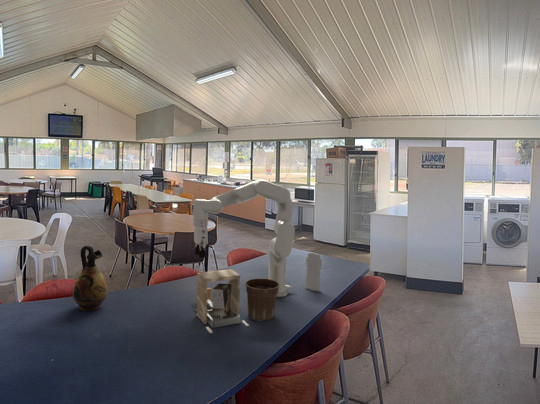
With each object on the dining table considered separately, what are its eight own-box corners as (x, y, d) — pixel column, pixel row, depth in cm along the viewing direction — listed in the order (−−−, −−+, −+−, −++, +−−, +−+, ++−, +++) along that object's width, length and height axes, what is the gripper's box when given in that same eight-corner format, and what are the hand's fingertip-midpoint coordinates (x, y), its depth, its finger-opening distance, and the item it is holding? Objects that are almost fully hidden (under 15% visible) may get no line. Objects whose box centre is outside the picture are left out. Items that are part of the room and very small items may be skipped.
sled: (215, 299, 200) (215, 287, 200) (240, 322, 171) (240, 308, 171) (191, 302, 194) (191, 290, 194) (212, 327, 165) (213, 313, 165)
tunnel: (230, 309, 187) (231, 269, 185) (239, 317, 177) (240, 275, 176) (196, 315, 179) (197, 272, 177) (204, 324, 170) (204, 279, 168)
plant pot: (282, 312, 185) (284, 280, 184) (272, 325, 170) (273, 290, 168) (251, 307, 190) (252, 276, 189) (238, 319, 175) (239, 285, 174)
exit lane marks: (243, 320, 174) (243, 320, 174) (249, 325, 169) (249, 325, 169) (205, 327, 166) (205, 327, 166) (210, 333, 160) (210, 332, 160)
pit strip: (224, 305, 193) (224, 304, 193) (226, 307, 190) (226, 306, 190) (193, 310, 185) (193, 309, 185) (195, 312, 183) (195, 311, 183)
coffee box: (225, 325, 169) (225, 290, 167) (211, 323, 170) (212, 288, 169) (231, 317, 178) (232, 283, 176) (218, 316, 179) (218, 282, 178)
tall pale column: (303, 288, 224) (304, 251, 221) (306, 286, 227) (308, 250, 225) (318, 292, 217) (320, 254, 215) (322, 290, 220) (323, 253, 218)
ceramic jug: (114, 304, 189) (114, 245, 186) (88, 315, 175) (87, 251, 172) (90, 298, 196) (89, 241, 193) (63, 308, 182) (61, 247, 180)
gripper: (212, 224, 194) (212, 259, 195) (202, 220, 209) (201, 252, 211) (198, 225, 190) (198, 260, 192) (188, 220, 205) (188, 253, 207)
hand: (200, 255), depth 201 cm, fingers open, 6 cm apart
